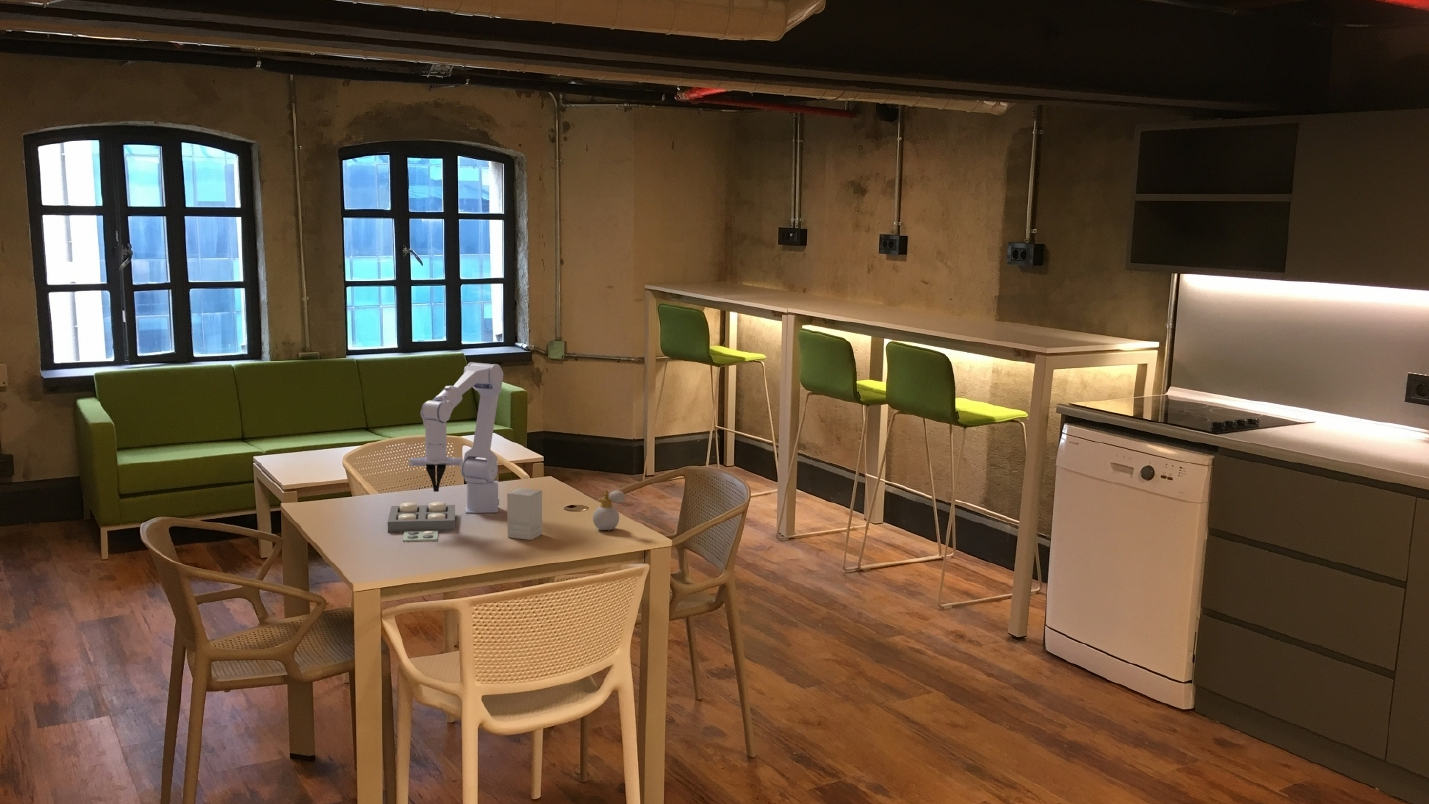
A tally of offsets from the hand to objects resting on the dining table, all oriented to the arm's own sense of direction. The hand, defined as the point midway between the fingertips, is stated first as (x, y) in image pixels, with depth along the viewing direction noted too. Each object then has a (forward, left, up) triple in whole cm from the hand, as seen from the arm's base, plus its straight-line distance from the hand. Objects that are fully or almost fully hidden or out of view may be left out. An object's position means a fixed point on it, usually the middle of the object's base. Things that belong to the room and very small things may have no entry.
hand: (436, 490), depth 329 cm
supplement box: (-24, +12, -10) cm, 29 cm away
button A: (+8, 0, -10) cm, 12 cm away
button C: (+8, -8, -8) cm, 14 cm away
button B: (0, 0, -10) cm, 10 cm away
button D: (0, -8, -8) cm, 11 cm away
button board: (+4, -4, -10) cm, 12 cm away
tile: (+4, +11, -10) cm, 15 cm away
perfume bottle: (-48, +8, -10) cm, 50 cm away
